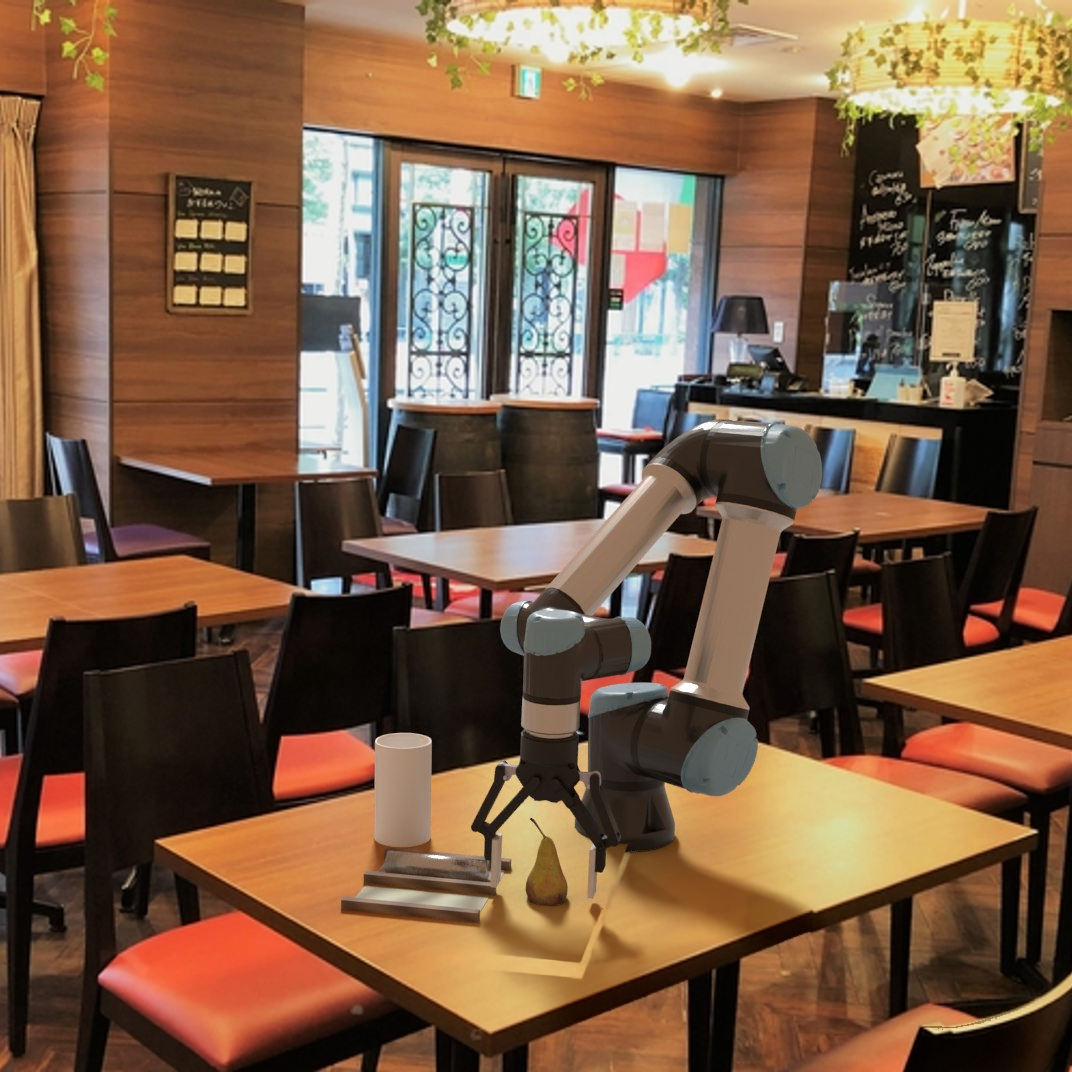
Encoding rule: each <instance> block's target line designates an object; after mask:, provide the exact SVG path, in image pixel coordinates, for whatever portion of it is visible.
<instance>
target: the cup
mask: <svg viewBox="0 0 1072 1072" xmlns="http://www.w3.org/2000/svg"><path fill="white" fill-rule="evenodd" d="M432 744H433V743H432V738H431V737H429V736H428V735H423V734H420V733H412V732H396V733H387V734H383V735H380V736H378V737H377V738H375V741H374V822H373V823H374V828H373V829H374V837H373V838H374V840H375V842H377V843H378V844H380V845H382V846H385V847H386V846H387V847H390V848H411V847H417V846H421V845H424V844H426V843H428V842H429V841H430V840H431V838H432V837H431V836H432V830H431V827H432V758H433V757H432V751H433V749H432V747H433V745H432Z"/></svg>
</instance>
